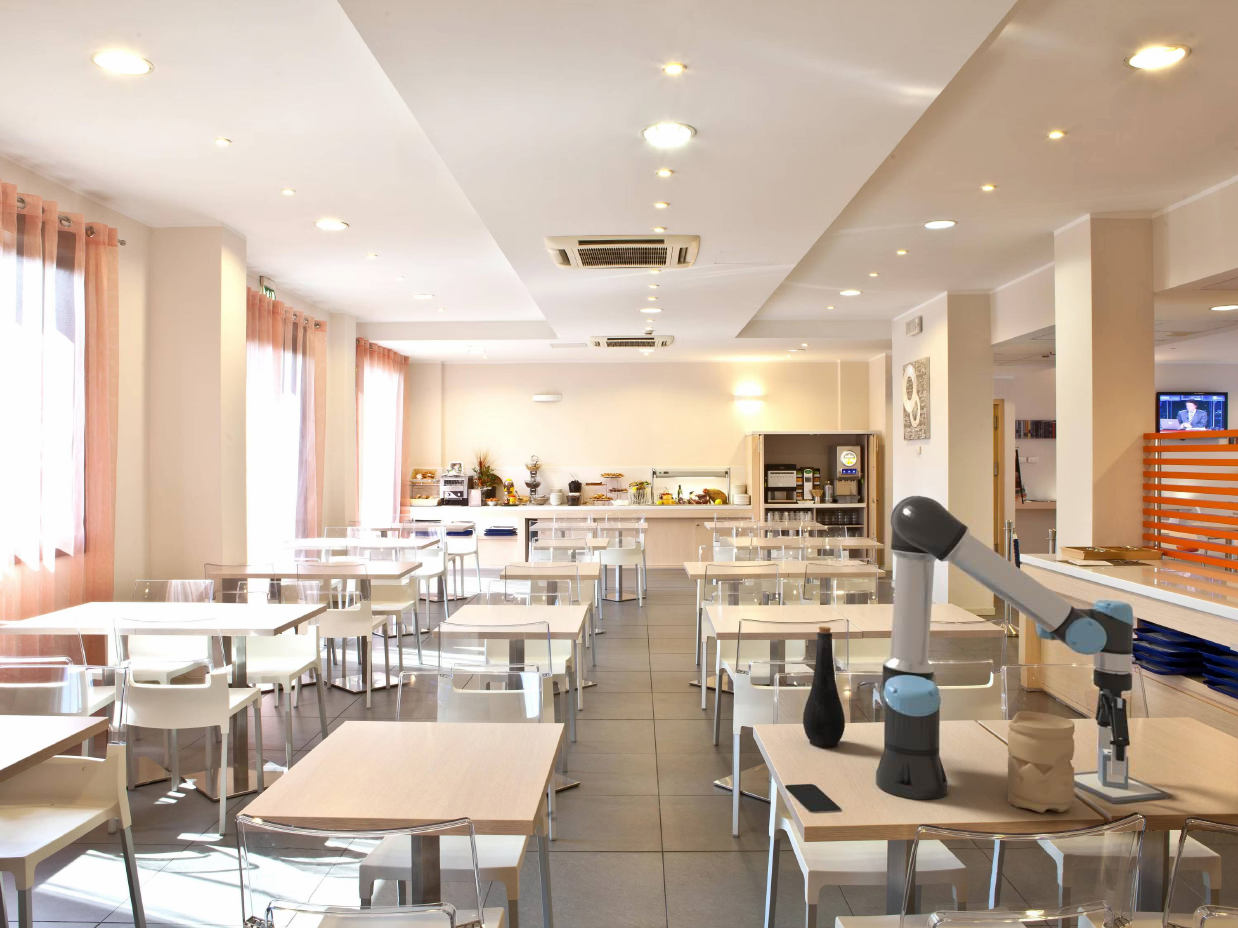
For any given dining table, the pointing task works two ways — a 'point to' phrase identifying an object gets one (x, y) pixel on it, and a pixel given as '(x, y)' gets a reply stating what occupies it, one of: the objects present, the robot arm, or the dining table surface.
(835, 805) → the smartphone
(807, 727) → the bottle
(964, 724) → the dining table surface
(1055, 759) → the container
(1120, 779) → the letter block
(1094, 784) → the grey bordered square plate
